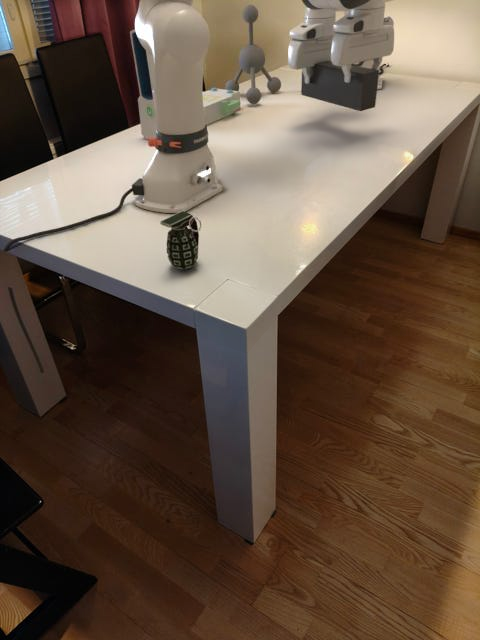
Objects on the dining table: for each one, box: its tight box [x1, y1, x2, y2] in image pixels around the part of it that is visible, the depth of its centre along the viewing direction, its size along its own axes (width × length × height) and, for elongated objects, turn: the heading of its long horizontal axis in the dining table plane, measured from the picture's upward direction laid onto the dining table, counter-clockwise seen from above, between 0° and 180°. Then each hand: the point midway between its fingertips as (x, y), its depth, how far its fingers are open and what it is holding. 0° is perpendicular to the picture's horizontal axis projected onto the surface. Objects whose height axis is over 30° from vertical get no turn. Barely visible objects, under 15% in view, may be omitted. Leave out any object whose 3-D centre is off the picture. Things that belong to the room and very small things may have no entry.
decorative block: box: [202, 87, 241, 126], centre depth 168 cm, size 26×6×20 cm
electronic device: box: [129, 28, 158, 140], centre depth 143 cm, size 12×8×30 cm, turn 47°
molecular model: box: [224, 4, 282, 105], centre depth 179 cm, size 24×22×30 cm
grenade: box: [159, 211, 202, 271], centre depth 88 cm, size 7×6×10 cm
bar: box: [300, 61, 380, 112], centre depth 142 cm, size 26×6×10 cm, turn 34°
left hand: (360, 78), depth 134 cm, fingers open, 8 cm apart
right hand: (317, 80), depth 148 cm, fingers closed on bar, 6 cm apart
